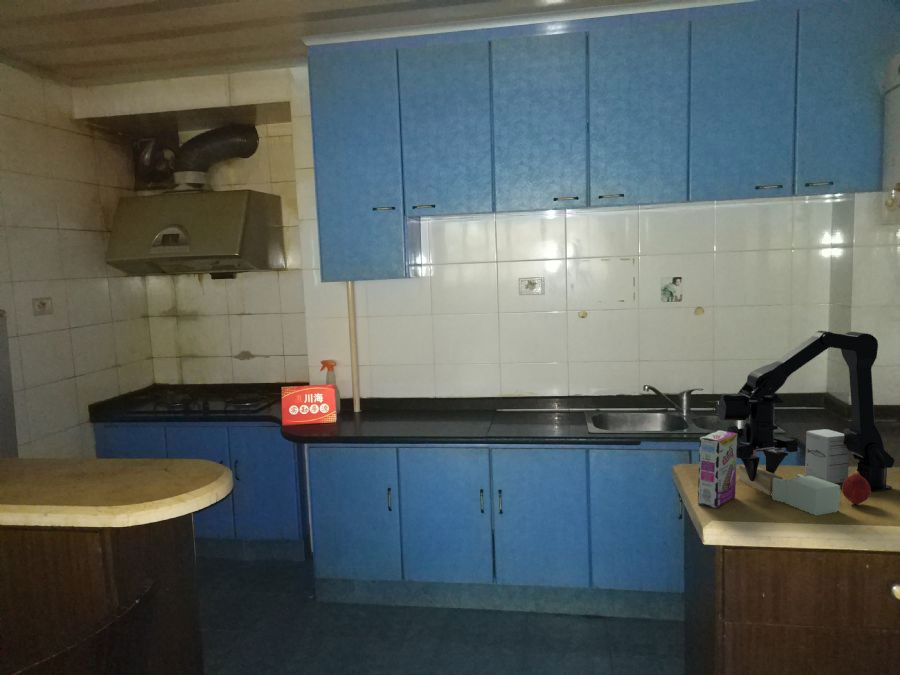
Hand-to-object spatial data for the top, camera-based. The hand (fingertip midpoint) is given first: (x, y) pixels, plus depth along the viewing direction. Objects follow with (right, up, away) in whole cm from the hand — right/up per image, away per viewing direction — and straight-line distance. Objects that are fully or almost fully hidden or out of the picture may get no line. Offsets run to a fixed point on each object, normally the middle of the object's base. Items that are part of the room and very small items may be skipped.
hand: (760, 479), depth 166 cm
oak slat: (0, -2, 0) cm, 2 cm away
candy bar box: (-15, -3, -9) cm, 18 cm away
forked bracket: (+5, -3, -14) cm, 15 cm away
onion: (+16, -3, -13) cm, 21 cm away
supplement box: (+20, -1, +6) cm, 21 cm away
